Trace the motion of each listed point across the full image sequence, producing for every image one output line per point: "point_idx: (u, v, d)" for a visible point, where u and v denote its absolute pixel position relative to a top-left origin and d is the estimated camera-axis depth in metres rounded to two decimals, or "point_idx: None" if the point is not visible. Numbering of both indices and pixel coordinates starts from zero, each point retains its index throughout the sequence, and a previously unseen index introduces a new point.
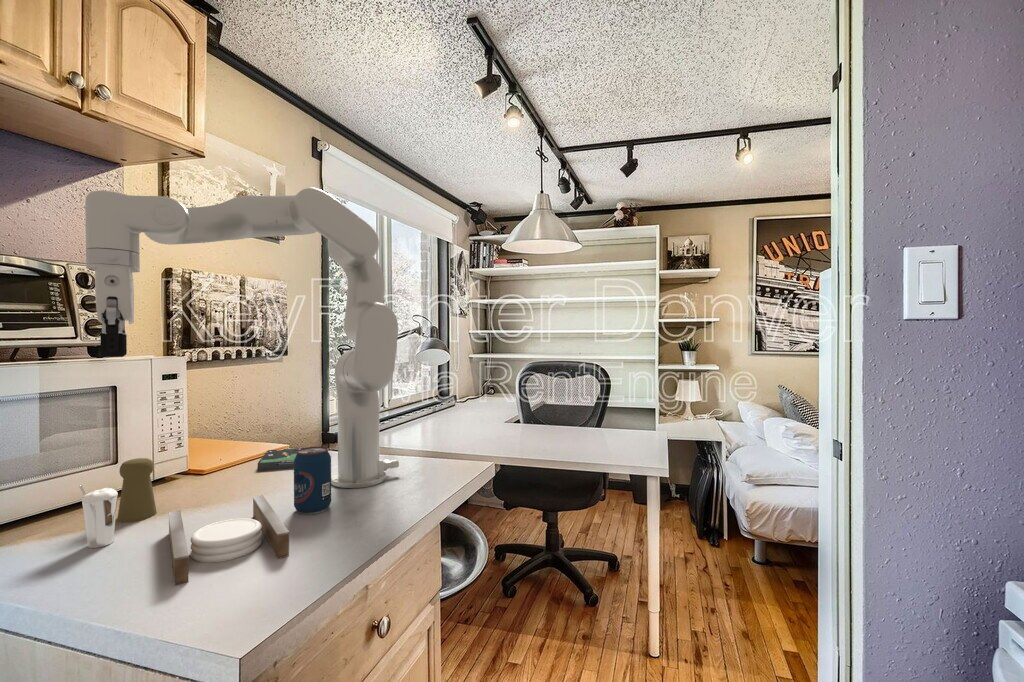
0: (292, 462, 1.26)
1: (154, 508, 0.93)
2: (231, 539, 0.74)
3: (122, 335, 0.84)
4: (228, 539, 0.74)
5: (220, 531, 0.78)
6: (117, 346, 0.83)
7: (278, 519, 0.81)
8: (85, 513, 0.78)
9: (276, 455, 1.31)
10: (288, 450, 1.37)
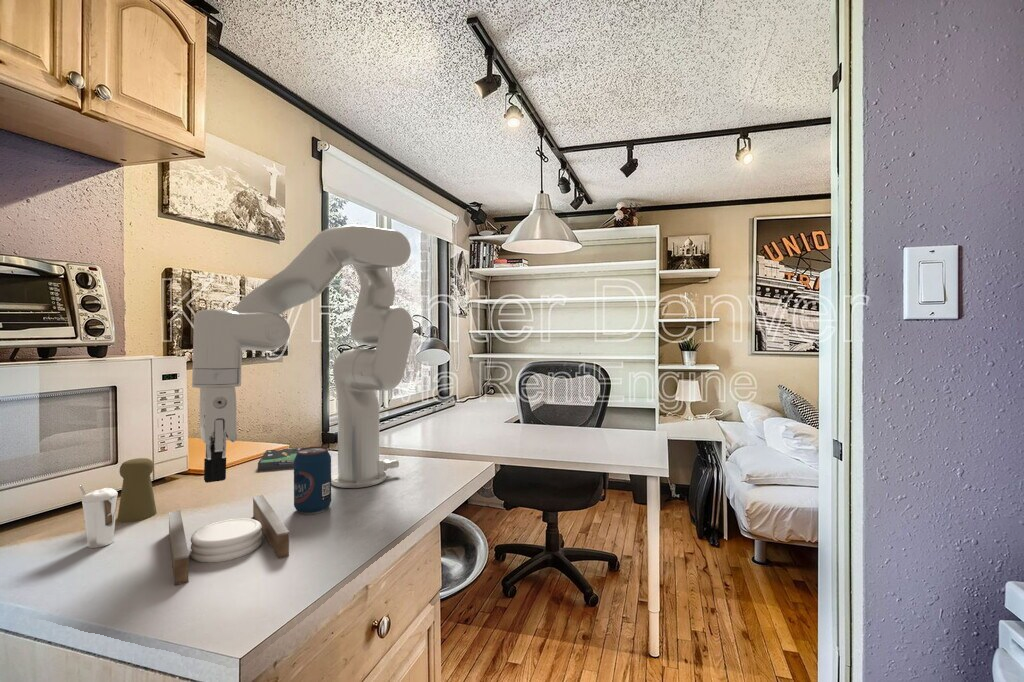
0: (293, 462, 1.26)
1: (154, 508, 0.93)
2: (231, 539, 0.74)
3: (224, 459, 0.86)
4: (228, 539, 0.74)
5: (220, 531, 0.78)
6: (220, 471, 0.85)
7: (278, 519, 0.81)
8: (85, 513, 0.78)
9: (276, 455, 1.31)
10: (287, 450, 1.37)
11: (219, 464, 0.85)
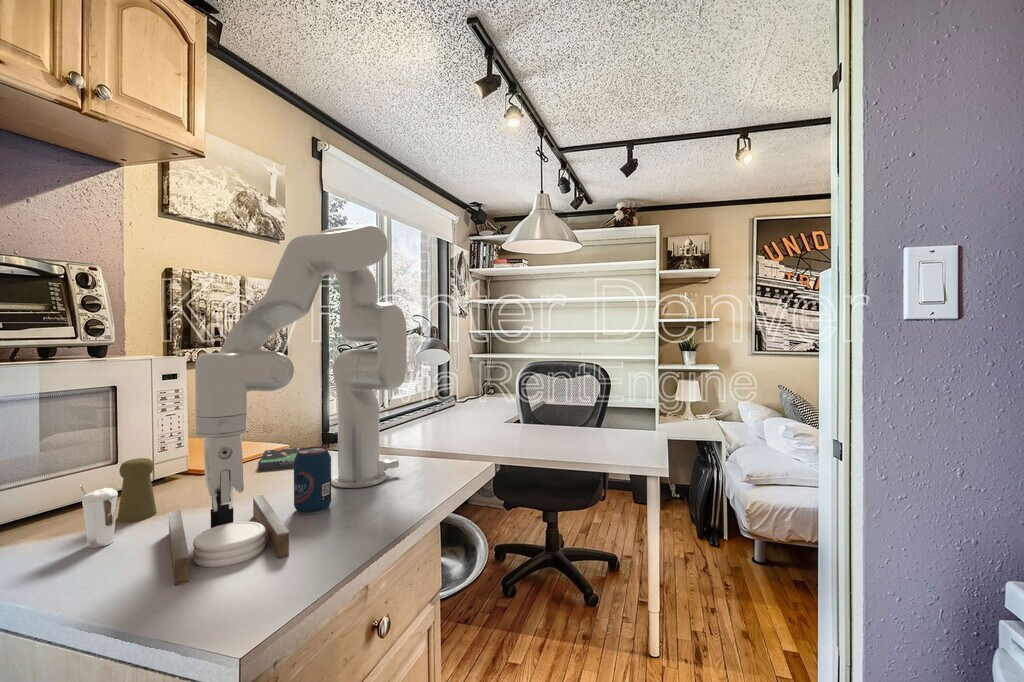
0: (293, 462, 1.26)
1: (154, 508, 0.93)
2: (235, 543, 0.73)
3: (231, 509, 0.82)
4: (232, 543, 0.73)
5: (223, 535, 0.76)
6: (227, 522, 0.81)
7: (278, 519, 0.81)
8: (85, 513, 0.78)
9: (275, 455, 1.31)
10: (286, 450, 1.37)
11: (226, 515, 0.81)
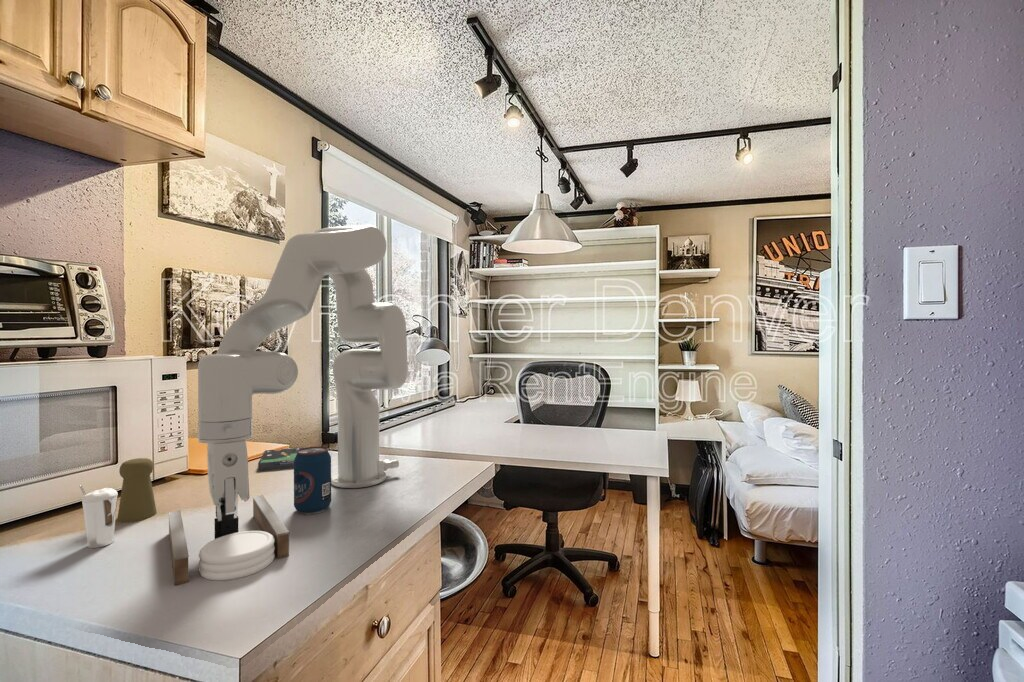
0: (293, 462, 1.26)
1: (154, 508, 0.93)
2: (244, 555, 0.69)
3: (236, 518, 0.78)
4: (241, 554, 0.69)
5: (230, 545, 0.72)
6: (232, 532, 0.77)
7: (278, 519, 0.81)
8: (85, 513, 0.78)
9: (275, 455, 1.31)
10: (286, 450, 1.37)
11: (231, 525, 0.77)
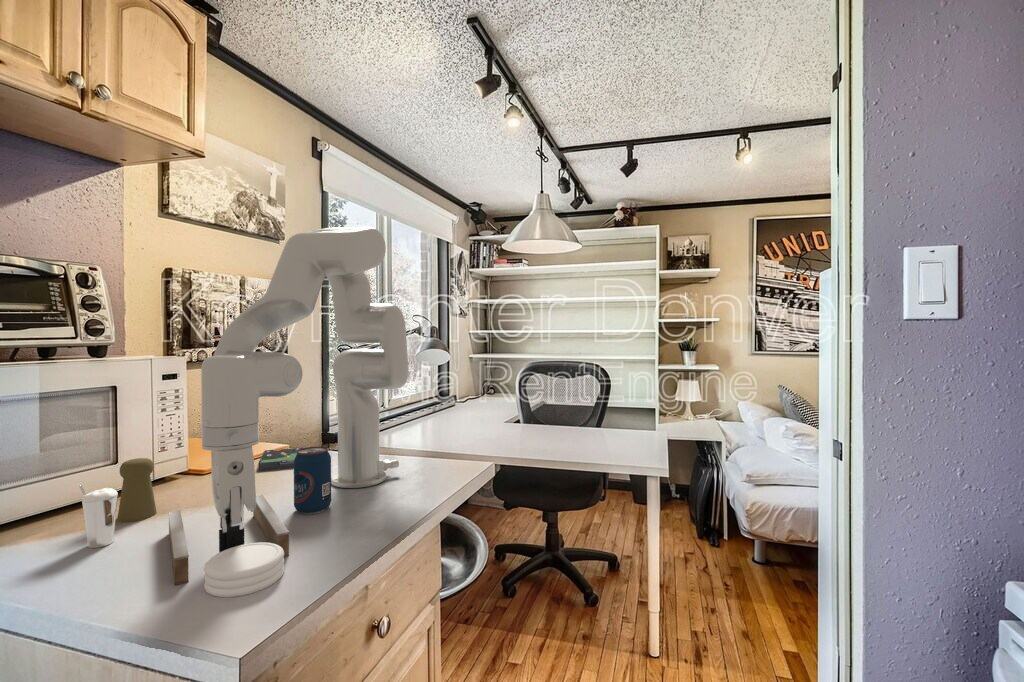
0: (293, 462, 1.26)
1: (154, 508, 0.93)
2: (253, 570, 0.65)
3: (242, 530, 0.73)
4: (249, 569, 0.65)
5: (237, 559, 0.68)
6: (238, 545, 0.72)
7: (278, 519, 0.81)
8: (85, 513, 0.78)
9: (275, 455, 1.31)
10: (286, 450, 1.37)
11: (236, 537, 0.72)
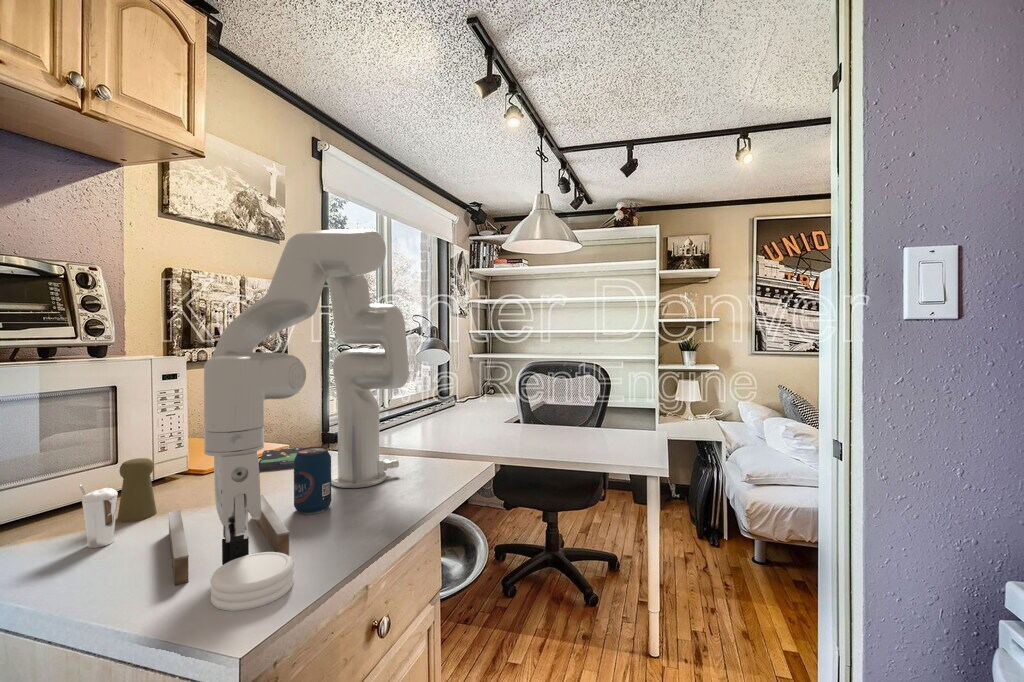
0: (293, 462, 1.26)
1: (154, 508, 0.93)
2: (261, 582, 0.62)
3: (246, 539, 0.70)
4: (257, 582, 0.61)
5: (245, 570, 0.65)
6: (242, 555, 0.69)
7: (278, 519, 0.81)
8: (85, 513, 0.78)
9: (275, 455, 1.31)
10: (285, 450, 1.37)
11: (240, 546, 0.69)
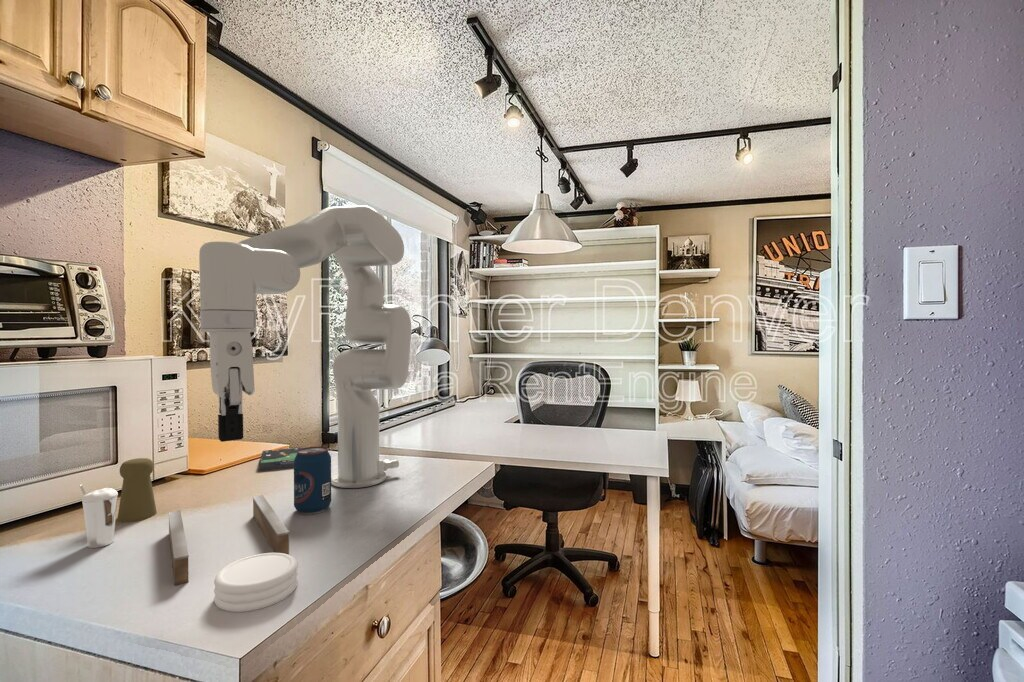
0: None
1: (154, 508, 0.93)
2: (265, 583, 0.61)
3: (241, 415, 0.75)
4: (262, 582, 0.61)
5: (249, 571, 0.64)
6: (237, 429, 0.74)
7: (278, 519, 0.81)
8: (85, 513, 0.78)
9: (274, 455, 1.31)
10: (284, 450, 1.37)
11: (235, 421, 0.74)
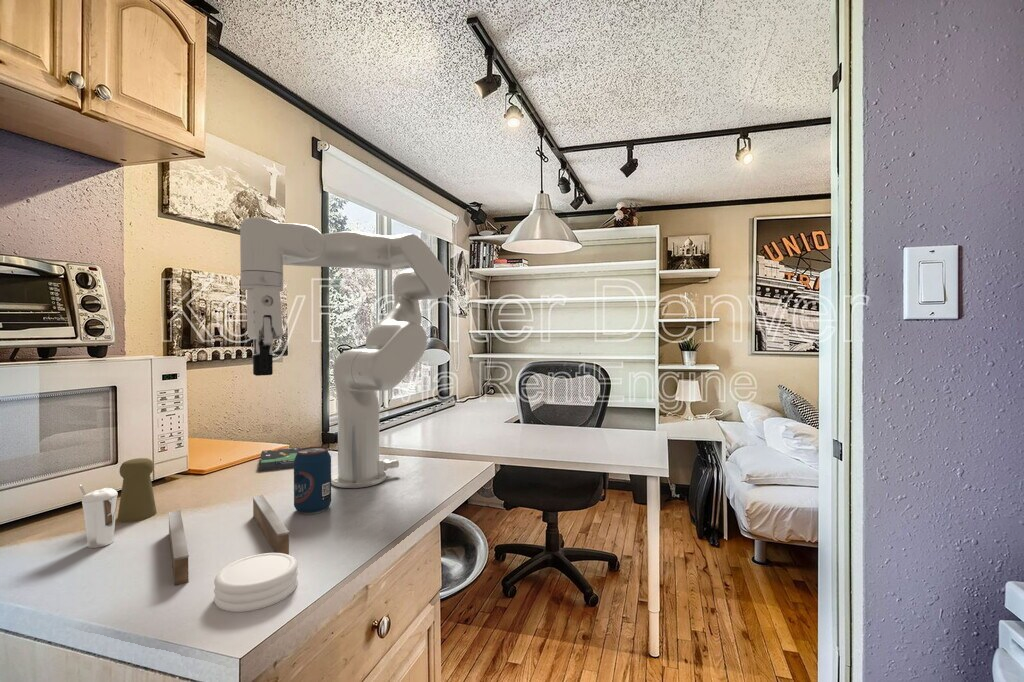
0: None
1: (154, 508, 0.93)
2: (266, 583, 0.61)
3: (271, 356, 0.95)
4: (262, 583, 0.61)
5: (249, 571, 0.64)
6: (268, 366, 0.94)
7: (278, 519, 0.81)
8: (85, 513, 0.78)
9: (274, 455, 1.31)
10: (284, 450, 1.37)
11: (267, 359, 0.94)
